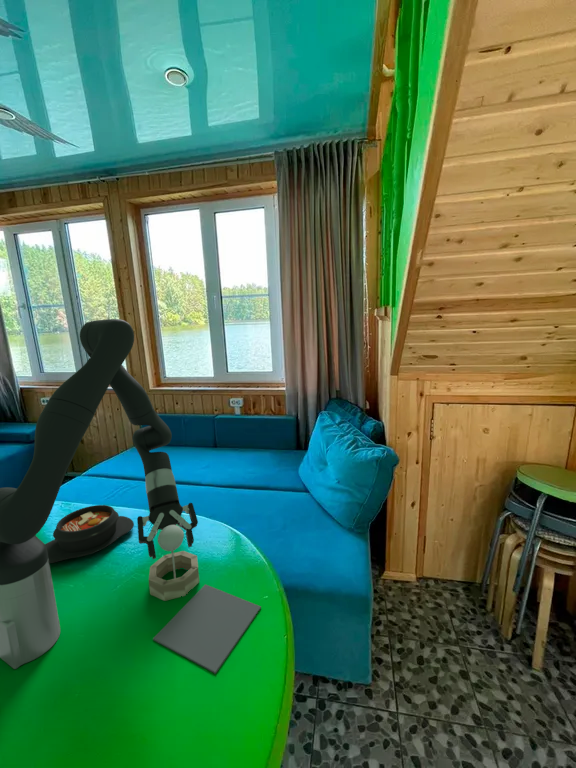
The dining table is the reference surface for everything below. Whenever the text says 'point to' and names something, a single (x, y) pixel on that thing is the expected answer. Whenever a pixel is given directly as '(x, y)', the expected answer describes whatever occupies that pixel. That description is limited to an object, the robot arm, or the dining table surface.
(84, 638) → the dining table surface
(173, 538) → the lollipop
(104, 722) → the dining table surface
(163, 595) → the octagonal ring
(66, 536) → the casserole
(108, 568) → the dining table surface
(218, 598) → the mat
